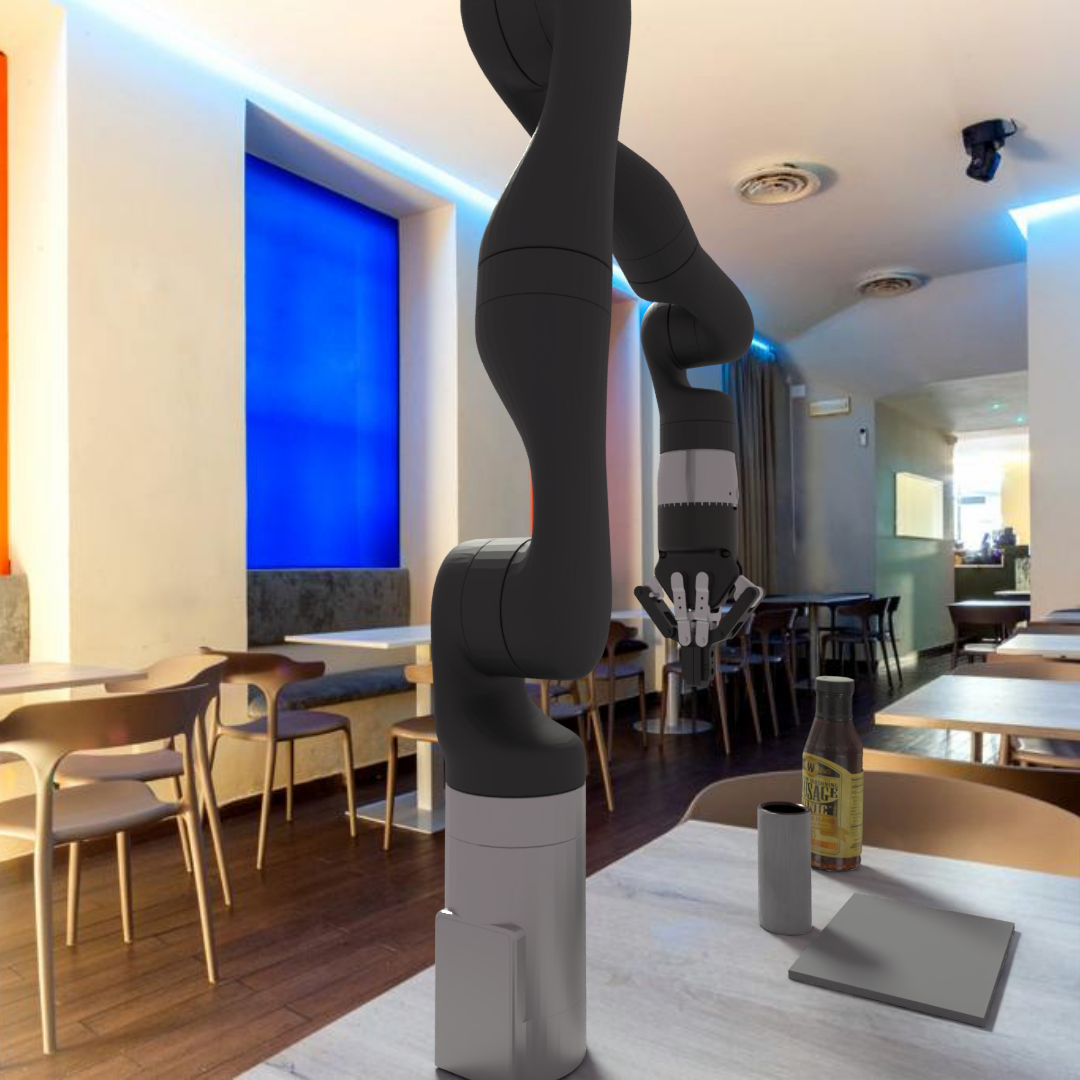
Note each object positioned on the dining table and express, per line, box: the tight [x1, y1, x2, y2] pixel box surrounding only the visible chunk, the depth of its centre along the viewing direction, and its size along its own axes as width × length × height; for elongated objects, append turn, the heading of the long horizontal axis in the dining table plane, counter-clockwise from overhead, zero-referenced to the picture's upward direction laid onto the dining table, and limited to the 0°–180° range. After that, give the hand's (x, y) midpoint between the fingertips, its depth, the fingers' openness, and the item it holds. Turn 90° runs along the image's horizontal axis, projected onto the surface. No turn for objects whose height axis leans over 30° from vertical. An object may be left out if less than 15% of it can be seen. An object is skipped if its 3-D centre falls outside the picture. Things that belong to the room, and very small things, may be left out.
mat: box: [787, 892, 1015, 1028], centre depth 73 cm, size 20×14×1 cm
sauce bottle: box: [801, 675, 865, 872], centre depth 95 cm, size 7×6×20 cm
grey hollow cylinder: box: [757, 800, 813, 936], centre depth 79 cm, size 4×4×10 cm
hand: (698, 685), depth 84 cm, fingers closed
